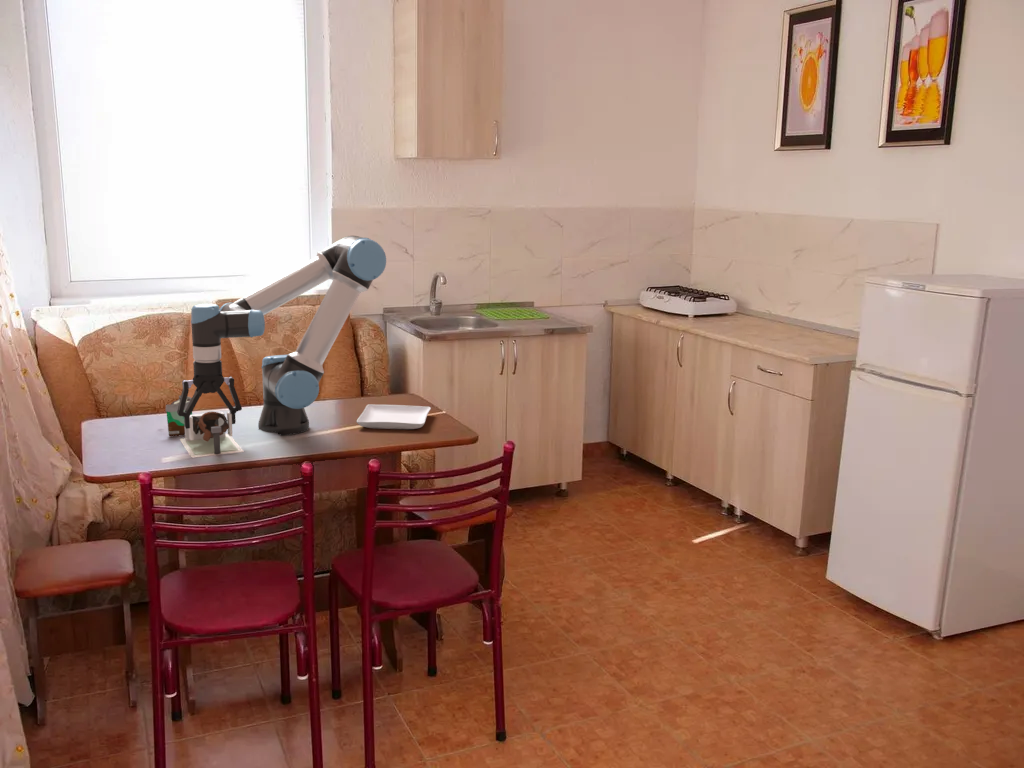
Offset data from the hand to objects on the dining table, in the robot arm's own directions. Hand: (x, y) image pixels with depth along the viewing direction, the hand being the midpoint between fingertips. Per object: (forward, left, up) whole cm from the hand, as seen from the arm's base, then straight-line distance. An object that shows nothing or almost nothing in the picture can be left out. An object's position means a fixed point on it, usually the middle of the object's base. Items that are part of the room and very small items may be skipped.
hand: (210, 437), depth 264 cm
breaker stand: (0, -1, -4) cm, 4 cm away
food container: (+4, -21, -4) cm, 22 cm away
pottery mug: (0, -1, -1) cm, 1 cm away
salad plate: (-58, -7, -4) cm, 59 cm away
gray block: (0, +8, -3) cm, 9 cm away
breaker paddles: (0, -8, 0) cm, 8 cm away
